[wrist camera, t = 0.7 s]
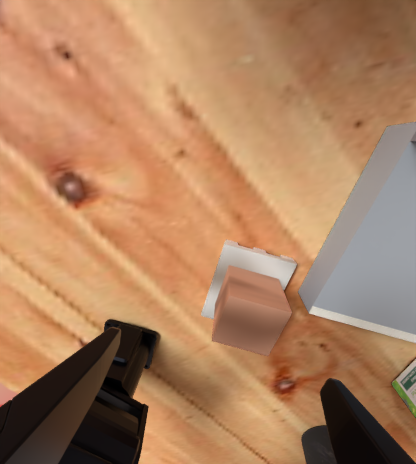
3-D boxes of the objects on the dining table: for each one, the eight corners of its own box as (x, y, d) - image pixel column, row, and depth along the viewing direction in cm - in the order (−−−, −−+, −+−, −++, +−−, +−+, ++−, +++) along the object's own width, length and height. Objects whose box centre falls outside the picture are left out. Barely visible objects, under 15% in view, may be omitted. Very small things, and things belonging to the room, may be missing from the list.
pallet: (260, 323, 24) (270, 374, 18) (202, 307, 24) (195, 353, 18) (293, 257, 20) (316, 296, 15) (225, 238, 20) (224, 270, 15)
